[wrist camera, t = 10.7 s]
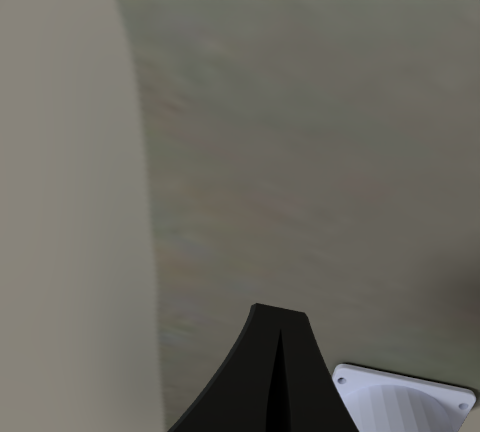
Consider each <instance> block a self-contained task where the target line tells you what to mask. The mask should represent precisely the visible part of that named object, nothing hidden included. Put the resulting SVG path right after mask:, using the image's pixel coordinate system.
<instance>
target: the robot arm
mask: <svg viewBox="0 0 480 432" xmlns="http://www.w3.org/2000/svg"><path fill="white" fill-rule="evenodd" d="M340 378H343V379H340ZM475 402H476V397H475V395H474V393H473V392H472V391H471V390H469V389H464V388H459V387H454V386H450V385H445V384H440V383H435V382H430V381H425V380H421V379H416V378H411V377H406V376H401V375H396V374H392V373H387V372H382V371H377V370H372V369H367V368H363V367H358V366H353V365H348V364H339V365H338V366H336V368H335V370H334V373H333V376H332V377H331V375H330V373H329V371H328V369H327V367H326V364H325V362H324V360H323V357H322V355H321V352H320V350H319V347H318V345H317V342H316V340H315V337H314V334H313V332H312V329H311V326H310V323H309V319H308V317H307V315H306V314H305V313H303V312H298V311H293V310H289V309H284V308H279V307H274V306H269V305H264V304H259V303H256V304H254V305H252V306H251V309H250V313H249V316H248V318H247V321H246V323H245V325H244V327H243V329H242V331H241V333H240V335H239V337H238V339H237V340H236V342H235V344H234V345H233V347H232V349H231V350H230V352H229V354H228V355H227V357H226V359H225V360H224V362H223V363H222V365H221V366H220V367H219V369H218V370H217V372H216V373H215V374H214V376H213V377H212V379H211V380H210V381H209V383H208V384H207V386H206V387H205V388H204V389H203V391H202V392H201V393H200V395H199V396H198V397H197V398H196V400H195V401H194V402H193V403H192V404H191V406H190V407H189V408H188V409H187V410H186V412H185V413H184V414H183V415H182V416H181V417H180V419H179V420H178V421H177V422H176V423H175V424H174V425H173V426H172V427H171V428H170V429H169V431H168V432H458V430H459V429H460V427H461V425H462V424H463V422H464V420H465V418H466V417H467V415H468V413H469V412H470V410H471V408H472V407H473V405H474V403H475ZM462 403H463V404H462Z"/></svg>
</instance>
